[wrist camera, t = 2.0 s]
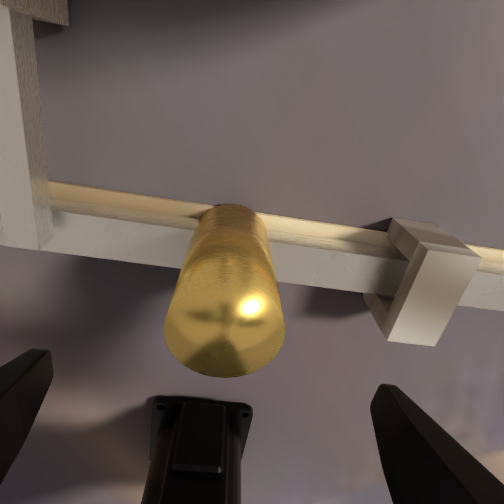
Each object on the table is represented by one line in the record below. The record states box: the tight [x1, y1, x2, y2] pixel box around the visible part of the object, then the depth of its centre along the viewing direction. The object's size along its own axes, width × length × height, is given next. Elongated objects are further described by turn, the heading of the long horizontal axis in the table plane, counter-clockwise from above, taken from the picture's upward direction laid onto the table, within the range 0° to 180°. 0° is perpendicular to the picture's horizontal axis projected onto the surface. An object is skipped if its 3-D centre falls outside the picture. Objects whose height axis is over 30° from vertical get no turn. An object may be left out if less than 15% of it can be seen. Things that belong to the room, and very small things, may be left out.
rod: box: [0, 0, 504, 378], centre depth 12 cm, size 15×42×7 cm, turn 80°
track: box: [48, 180, 504, 346], centre depth 15 cm, size 5×54×4 cm, turn 80°
